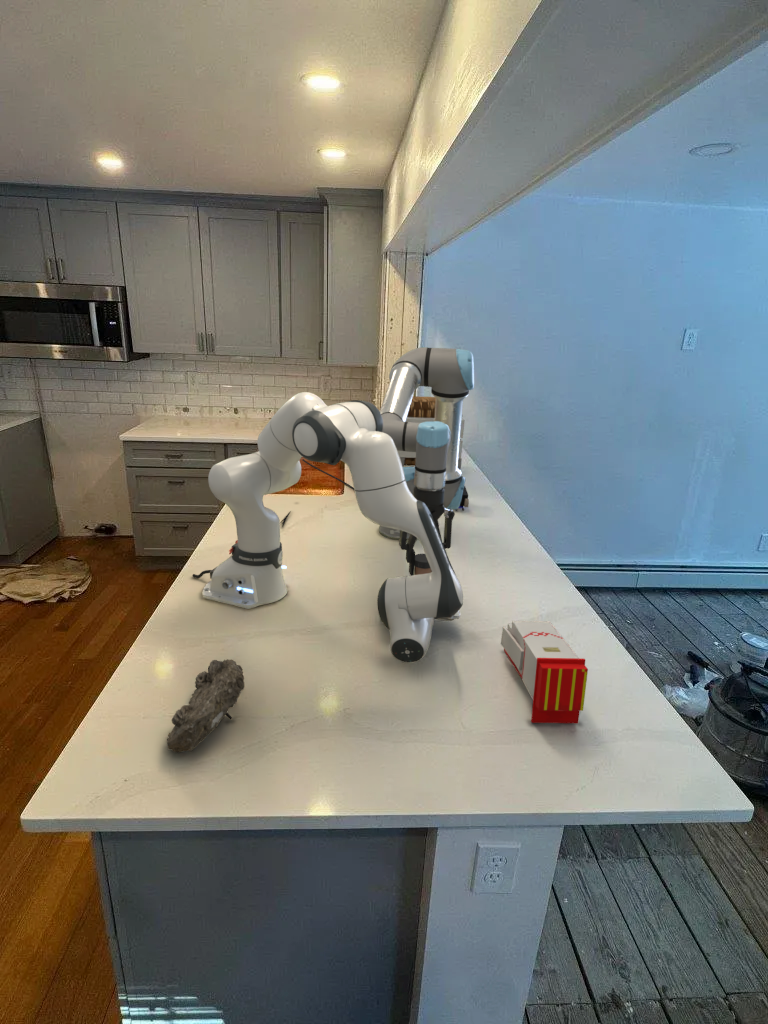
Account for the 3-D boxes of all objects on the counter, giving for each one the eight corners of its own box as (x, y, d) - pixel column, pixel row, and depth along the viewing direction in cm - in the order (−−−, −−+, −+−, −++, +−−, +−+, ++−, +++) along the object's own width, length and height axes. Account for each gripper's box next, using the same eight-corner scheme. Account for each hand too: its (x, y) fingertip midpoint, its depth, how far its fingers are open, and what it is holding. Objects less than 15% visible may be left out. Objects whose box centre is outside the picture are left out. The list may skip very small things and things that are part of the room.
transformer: (382, 463, 289) (386, 382, 275) (445, 464, 293) (451, 384, 279) (390, 482, 257) (394, 392, 243) (460, 483, 261) (468, 394, 247)
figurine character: (468, 516, 224) (463, 500, 237) (471, 498, 221) (465, 483, 234) (452, 515, 224) (447, 499, 237) (453, 498, 220) (449, 482, 234)
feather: (297, 505, 227) (300, 501, 226) (281, 528, 200) (284, 524, 199) (293, 503, 226) (296, 499, 226) (277, 526, 200) (279, 522, 199)
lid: (425, 570, 141) (425, 564, 140) (408, 563, 144) (408, 557, 144) (438, 564, 144) (439, 558, 144) (422, 557, 148) (422, 551, 148)
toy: (547, 606, 135) (596, 665, 106) (541, 658, 138) (589, 729, 108) (496, 604, 134) (532, 664, 105) (492, 657, 137) (526, 729, 108)
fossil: (192, 660, 117) (244, 628, 112) (224, 691, 120) (276, 661, 115) (142, 746, 98) (202, 712, 93) (182, 779, 101) (242, 748, 96)
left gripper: (460, 608, 132) (462, 582, 145) (374, 598, 135) (384, 573, 148) (458, 631, 134) (460, 604, 147) (373, 621, 137) (383, 594, 150)
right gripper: (461, 482, 142) (453, 565, 150) (389, 482, 139) (385, 567, 147) (470, 491, 135) (461, 578, 143) (394, 491, 132) (389, 581, 140)
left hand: (421, 588), depth 148 cm, fingers closed on jar, 4 cm apart
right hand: (422, 573), depth 145 cm, fingers closed on lid, 5 cm apart
